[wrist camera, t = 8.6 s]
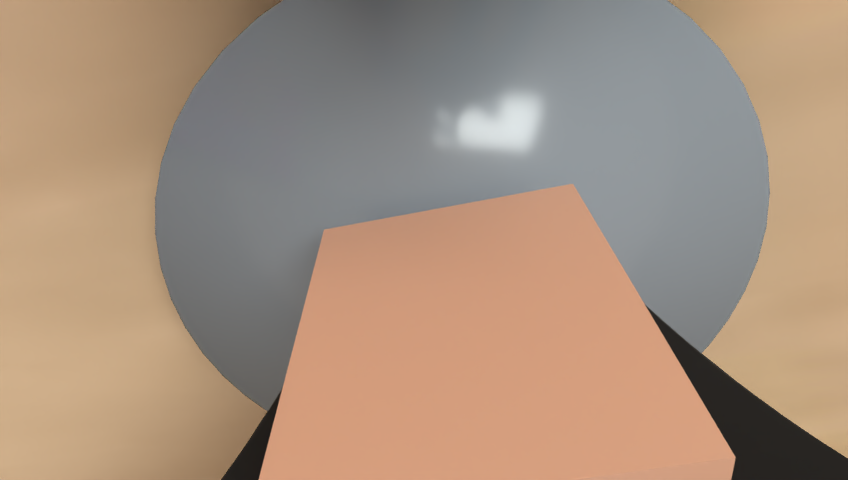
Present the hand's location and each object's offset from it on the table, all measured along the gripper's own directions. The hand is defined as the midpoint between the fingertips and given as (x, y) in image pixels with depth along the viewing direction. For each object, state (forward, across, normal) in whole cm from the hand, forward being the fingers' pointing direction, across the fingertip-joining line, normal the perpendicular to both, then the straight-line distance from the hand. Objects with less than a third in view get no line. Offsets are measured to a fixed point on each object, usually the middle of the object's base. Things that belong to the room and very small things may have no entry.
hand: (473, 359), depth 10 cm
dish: (+4, 0, 0) cm, 4 cm away
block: (+2, 0, 0) cm, 2 cm away
